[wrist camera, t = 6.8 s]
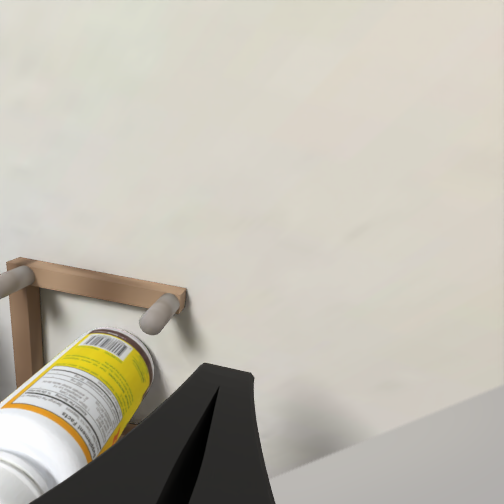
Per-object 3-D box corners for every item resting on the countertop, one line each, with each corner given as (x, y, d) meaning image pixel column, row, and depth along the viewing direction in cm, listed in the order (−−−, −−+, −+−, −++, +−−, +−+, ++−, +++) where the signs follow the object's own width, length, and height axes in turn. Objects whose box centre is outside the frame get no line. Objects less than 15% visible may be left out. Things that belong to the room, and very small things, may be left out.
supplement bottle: (101, 405, 23) (-45, 589, 13) (62, 335, 22) (-129, 481, 12) (172, 387, 22) (69, 575, 12) (135, 312, 21) (-13, 454, 11)
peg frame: (30, 413, 24) (-13, 455, 21) (19, 257, 20) (-35, 276, 17) (172, 446, 23) (150, 496, 20) (186, 288, 20) (163, 315, 16)
